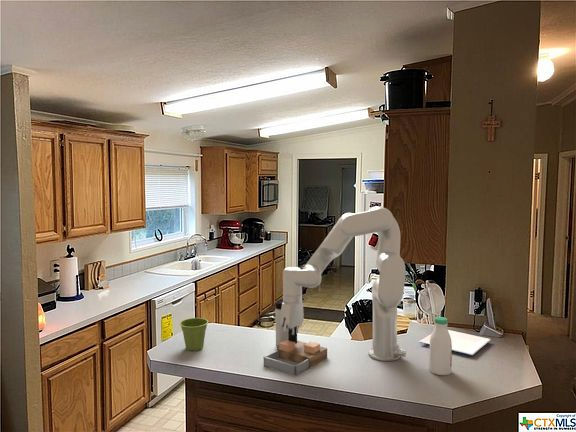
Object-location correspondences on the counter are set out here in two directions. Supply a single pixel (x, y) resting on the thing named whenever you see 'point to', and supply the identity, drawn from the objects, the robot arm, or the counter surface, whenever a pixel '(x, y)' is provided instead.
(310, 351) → the tile
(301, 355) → the brown piece
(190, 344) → the plant pot
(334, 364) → the counter surface
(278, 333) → the travel mug
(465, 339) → the plate
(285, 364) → the box
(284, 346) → the tile
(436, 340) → the milk bottle
